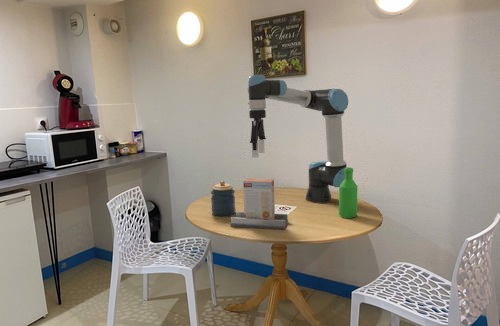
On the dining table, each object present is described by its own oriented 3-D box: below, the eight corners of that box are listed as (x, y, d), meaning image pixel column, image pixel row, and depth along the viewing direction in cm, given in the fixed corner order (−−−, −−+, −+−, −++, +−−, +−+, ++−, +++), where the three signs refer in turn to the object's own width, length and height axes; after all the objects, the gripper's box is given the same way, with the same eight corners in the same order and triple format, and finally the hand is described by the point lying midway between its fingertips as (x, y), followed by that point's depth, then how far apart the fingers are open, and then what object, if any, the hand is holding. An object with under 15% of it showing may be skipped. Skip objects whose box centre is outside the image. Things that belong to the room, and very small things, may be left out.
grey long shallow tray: (287, 221, 170) (287, 213, 170) (284, 229, 159) (284, 221, 158) (237, 218, 176) (237, 210, 176) (230, 226, 165) (230, 218, 164)
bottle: (347, 219, 170) (348, 170, 166) (335, 215, 178) (336, 167, 173) (360, 216, 174) (361, 168, 170) (348, 212, 182) (349, 165, 177)
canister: (207, 215, 183) (205, 182, 180) (217, 208, 195) (216, 177, 192) (229, 217, 178) (228, 184, 175) (239, 210, 190) (238, 179, 187)
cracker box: (275, 220, 169) (274, 179, 165) (272, 224, 163) (271, 181, 159) (247, 218, 173) (246, 177, 169) (244, 222, 167) (243, 180, 163)
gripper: (255, 109, 171) (256, 151, 175) (242, 110, 147) (244, 159, 151) (270, 108, 169) (271, 151, 173) (259, 110, 146) (260, 159, 149)
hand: (258, 155), depth 162 cm, fingers open, 13 cm apart
